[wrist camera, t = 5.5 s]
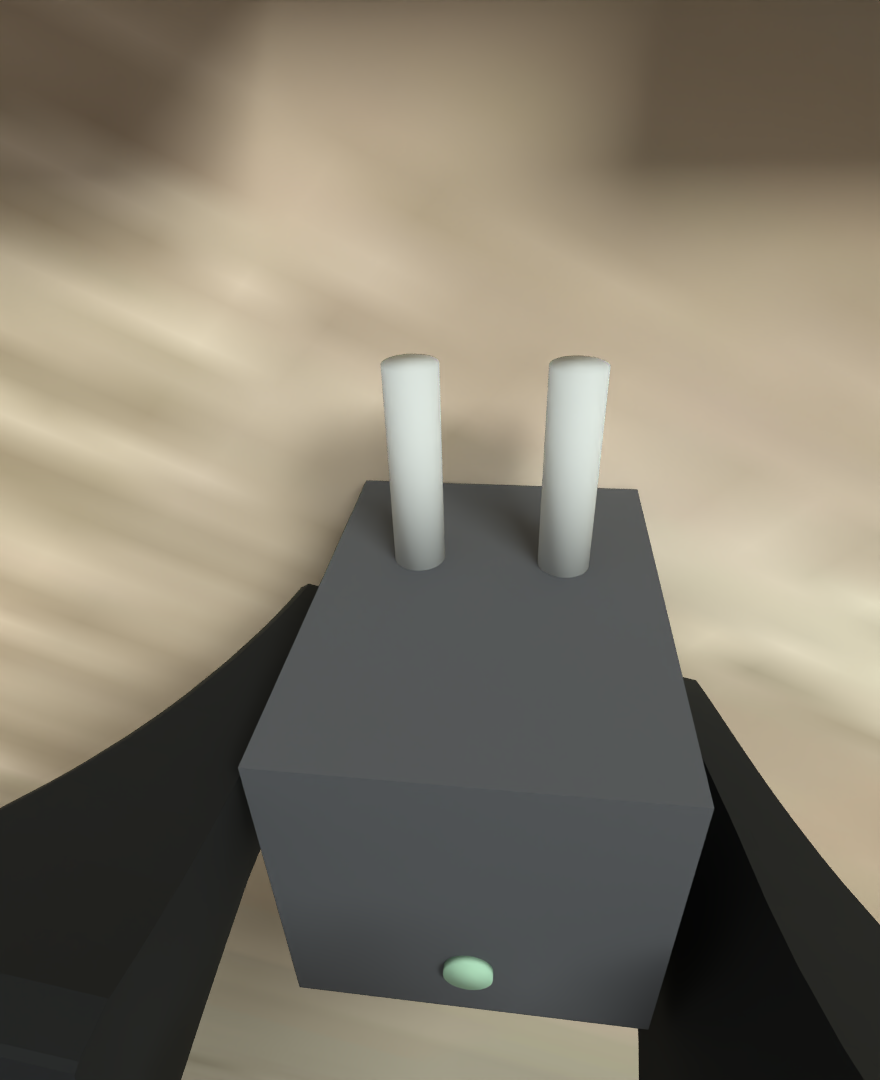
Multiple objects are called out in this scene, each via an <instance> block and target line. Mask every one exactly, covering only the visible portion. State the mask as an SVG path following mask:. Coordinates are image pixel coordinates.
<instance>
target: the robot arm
mask: <svg viewBox="0 0 880 1080" xmlns="http://www.w3.org/2000/svg"><path fill="white" fill-rule="evenodd" d="M318 588H319V586H315V585H311V584H308V585H306V586H304V587H301V588H300V590H299V591H298V592H297V593H296V594H295V596H294V597H293V598H292V599H291V600H290V601H289V602H288V603H287V604H286V605H285V607H284V608H283V609H282V610H281V611H280V612H279V613H278V614H277V615H276V616H275V617H274V618H273V619H272V620H271V621H270V622H269V623H268V624H267V625H266V626H265V627H264V628H263V629H262V630H261V631H260V632H259V633H258V634H256V635H255V636H254V637H253V638H252V639H251V640H250V641H249V642H248V643H247V644H245V645H244V646H243V647H242V648H241V649H240V650H239V651H238V652H237V653H235V654H234V655H233V656H232V657H231V658H230V659H229V660H228V661H226V662H225V663H224V664H223V665H222V666H221V667H219V668H218V669H217V670H216V671H214V672H213V673H212V674H211V675H209V676H208V677H207V678H206V679H204V680H203V681H202V682H201V683H199V684H198V685H197V686H196V687H194V688H193V689H192V690H191V691H189V692H188V693H187V694H186V695H184V696H183V697H182V698H181V699H179V700H178V701H176V702H175V703H174V704H172V705H171V706H170V707H168V708H167V709H166V710H164V711H163V712H161V713H160V714H159V715H157V716H156V717H154V718H153V719H151V720H150V721H149V722H147V723H146V724H144V725H143V726H141V727H140V728H138V729H137V730H135V731H134V732H132V733H131V734H129V735H128V736H126V737H125V738H123V739H122V740H120V741H118V742H117V743H115V744H113V745H112V746H110V747H109V748H107V749H105V750H104V751H102V752H101V753H99V754H97V755H96V756H94V757H92V758H91V759H89V760H88V761H86V762H84V763H83V764H81V765H79V766H77V767H76V768H74V769H72V770H71V771H69V772H67V773H65V774H64V775H62V776H60V777H58V778H57V779H55V780H53V781H51V782H49V783H47V784H45V785H43V786H41V787H40V788H38V789H36V790H34V791H32V792H30V793H28V794H26V795H24V796H22V797H20V798H18V799H17V800H15V801H13V802H11V803H9V804H7V805H5V806H3V807H1V808H0V1080H181V1078H182V1075H183V1072H184V1069H185V1066H186V1063H187V1060H188V1057H189V1054H190V1050H191V1047H192V1044H193V1041H194V1038H195V1035H196V1032H197V1029H198V1026H199V1023H200V1020H201V1017H202V1014H203V1011H204V1008H205V1005H206V1002H207V999H208V996H209V993H210V990H211V987H212V984H213V981H214V978H215V975H216V972H217V969H218V966H219V963H220V960H221V957H222V954H223V951H224V948H225V945H226V942H227V939H228V936H229V933H230V930H231V928H232V925H233V922H234V919H235V916H236V913H237V910H238V907H239V904H240V901H241V898H242V895H243V893H244V890H245V887H246V884H247V881H248V878H249V876H250V873H251V871H252V868H253V866H254V863H255V861H256V858H257V856H258V853H259V851H260V849H261V848H260V844H259V841H258V837H257V834H256V830H255V827H254V823H253V820H252V816H251V812H250V809H249V805H248V802H247V798H246V795H245V791H244V788H243V784H242V781H241V777H240V773H239V770H238V767H239V764H240V762H241V760H242V758H243V755H244V753H245V751H246V749H247V746H248V744H249V742H250V740H251V737H252V735H253V733H254V731H255V729H256V726H257V724H258V722H259V720H260V717H261V715H262V713H263V711H264V708H265V706H266V704H267V702H268V699H269V697H270V695H271V693H272V691H273V688H274V686H275V684H276V682H277V679H278V677H279V675H280V673H281V670H282V668H283V666H284V664H285V661H286V659H287V657H288V655H289V653H290V650H291V648H292V646H293V644H294V641H295V639H296V637H297V635H298V632H299V630H300V628H301V626H302V623H303V621H304V619H305V617H306V615H307V612H308V610H309V608H310V606H311V603H312V601H313V599H314V597H315V594H316V592H317V590H318ZM683 681H684V685H685V689H686V693H687V697H688V702H689V706H690V710H691V714H692V718H693V722H694V726H695V731H696V735H697V739H698V743H699V747H700V751H701V755H702V759H703V764H704V768H705V772H706V776H707V780H708V784H709V788H710V793H711V797H712V801H713V805H714V811H713V814H712V818H711V821H710V824H709V828H708V831H707V834H706V838H705V841H704V844H703V848H702V851H701V855H700V858H699V861H698V865H697V868H696V871H695V875H694V878H693V881H692V885H691V888H690V892H689V895H688V898H687V902H686V905H685V908H684V912H683V915H682V918H681V922H680V925H679V928H678V932H677V935H676V939H675V942H674V945H673V949H672V952H671V955H670V959H669V962H668V965H667V969H666V972H665V976H664V979H663V982H662V986H661V989H660V992H659V996H658V999H657V1002H656V1006H655V1009H654V1012H653V1016H652V1019H651V1023H650V1026H649V1029H648V1030H647V1029H638V1039H639V1080H880V925H879V923H878V922H877V921H876V920H875V919H874V918H873V917H872V915H871V914H870V913H869V912H868V911H867V910H866V909H865V907H864V906H863V905H862V904H861V903H860V902H859V901H858V899H857V898H856V897H855V896H854V895H853V894H852V893H851V891H850V890H849V889H848V888H847V887H846V886H845V885H844V883H843V882H842V881H841V880H840V879H839V877H838V876H837V875H836V874H835V873H834V871H833V870H832V869H831V868H830V867H829V865H828V864H827V863H826V862H825V860H824V859H823V858H822V857H821V855H820V854H819V853H818V852H817V850H816V849H815V848H814V846H813V845H812V844H811V843H810V841H809V840H808V839H807V837H806V836H805V835H804V834H803V832H802V831H801V830H800V828H799V827H798V826H797V824H796V823H795V822H794V821H793V819H792V818H791V817H790V815H789V814H788V812H787V811H786V810H785V808H784V807H783V806H782V804H781V803H780V802H779V800H778V799H777V797H776V796H775V795H774V793H773V792H772V790H771V789H770V788H769V786H768V785H767V783H766V782H765V781H764V779H763V778H762V776H761V775H760V773H759V772H758V771H757V769H756V768H755V766H754V765H753V763H752V762H751V760H750V759H749V758H748V756H747V755H746V753H745V752H744V750H743V749H742V747H741V746H740V744H739V743H738V741H737V740H736V738H735V737H734V735H733V734H732V732H731V731H730V729H729V728H728V726H727V725H726V723H725V722H724V720H723V719H722V717H721V716H720V714H719V713H718V711H717V710H716V708H715V707H714V705H713V704H712V702H711V701H710V699H709V698H708V697H707V695H706V694H705V692H704V691H703V689H702V688H701V687H700V685H699V684H698V682H697V681H696V680H692V679H688V678H684V677H683Z"/></svg>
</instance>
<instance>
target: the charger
mask: <svg viewBox="0 0 880 1080" xmlns="http://www.w3.org/2000/svg"><path fill="white" fill-rule="evenodd" d="M381 374H382V387H383V400H384V413H385V426H386V440H387V453H388V466H389V479H390V481H366V483H365V485H364V487H363V489H362V492H361V494H360V496H359V498H358V500H357V503H356V505H355V507H354V509H353V512H352V514H351V516H350V518H349V521H348V523H347V525H346V527H345V530H344V532H343V534H342V536H341V538H340V541H339V543H338V545H337V547H336V550H335V552H334V554H333V556H332V559H331V561H330V563H329V565H328V568H327V570H326V572H325V574H324V576H323V579H322V581H321V583H320V585H319V588H318V590H317V592H316V594H315V597H314V599H313V601H312V603H311V606H310V608H309V610H308V612H307V615H306V617H305V619H304V621H303V623H302V626H301V628H300V630H299V632H298V635H297V637H296V639H295V641H294V644H293V646H292V648H291V650H290V653H289V655H288V657H287V659H286V661H285V664H284V666H283V668H282V670H281V673H280V675H279V677H278V679H277V682H276V684H275V686H274V688H273V691H272V693H271V695H270V697H269V699H268V702H267V704H266V706H265V708H264V711H263V713H262V715H261V717H260V720H259V722H258V724H257V726H256V729H255V731H254V733H253V735H252V737H251V740H250V742H249V744H248V746H247V749H246V751H245V753H244V755H243V758H242V760H241V762H240V764H239V767H238V770H239V773H240V777H241V781H242V784H243V788H244V791H245V795H246V798H247V802H248V805H249V809H250V812H251V816H252V820H253V823H254V827H255V830H256V834H257V837H258V841H259V844H260V848H261V851H262V855H263V858H264V862H265V866H266V869H267V873H268V876H269V880H270V883H271V887H272V890H273V894H274V897H275V901H276V905H277V908H278V912H279V915H280V919H281V922H282V926H283V929H284V933H285V936H286V940H287V944H288V947H289V951H290V954H291V958H292V961H293V965H294V968H295V972H296V975H297V979H298V983H299V986H300V987H303V988H311V989H320V990H328V991H336V992H344V993H352V994H360V995H369V996H377V997H385V998H393V999H401V1000H410V1001H418V1002H426V1003H434V1004H442V1005H450V1006H459V1007H467V1008H475V1009H483V1010H491V1011H499V1012H508V1013H516V1014H524V1015H532V1016H540V1017H549V1018H557V1019H565V1020H573V1021H581V1022H589V1023H598V1024H606V1025H614V1026H622V1027H630V1028H638V1029H647V1030H648V1029H649V1026H650V1023H651V1019H652V1016H653V1012H654V1009H655V1006H656V1002H657V999H658V996H659V992H660V989H661V986H662V982H663V979H664V976H665V972H666V969H667V965H668V962H669V959H670V955H671V952H672V949H673V945H674V942H675V939H676V935H677V932H678V928H679V925H680V922H681V918H682V915H683V912H684V908H685V905H686V902H687V898H688V895H689V892H690V888H691V885H692V881H693V878H694V875H695V871H696V868H697V865H698V861H699V858H700V855H701V851H702V848H703V844H704V841H705V838H706V834H707V831H708V828H709V824H710V821H711V818H712V814H713V811H714V805H713V801H712V797H711V793H710V788H709V784H708V780H707V776H706V772H705V768H704V764H703V759H702V755H701V751H700V747H699V743H698V739H697V735H696V731H695V726H694V722H693V718H692V714H691V710H690V706H689V702H688V697H687V693H686V689H685V685H684V681H683V677H682V673H681V668H680V664H679V660H678V656H677V652H676V648H675V644H674V639H673V635H672V631H671V627H670V623H669V619H668V615H667V610H666V606H665V602H664V598H663V594H662V590H661V586H660V581H659V577H658V573H657V569H656V565H655V561H654V557H653V552H652V548H651V544H650V540H649V536H648V532H647V528H646V523H645V519H644V515H643V511H642V507H641V503H640V499H639V494H638V490H635V489H605V488H597V486H598V477H599V468H600V458H601V449H602V440H603V431H604V421H605V412H606V403H607V394H608V385H609V375H610V364H609V363H608V362H607V361H605V360H602V359H599V358H595V357H590V356H565V357H560V358H557V359H554V360H552V361H551V362H550V364H549V377H548V394H547V411H546V428H545V445H544V462H543V479H542V486H515V485H484V484H454V483H443V475H442V440H441V406H440V372H439V360H438V359H437V358H435V357H433V356H429V355H424V354H402V355H396V356H392V357H389V358H387V359H385V360H383V361H382V362H381Z"/></svg>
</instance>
